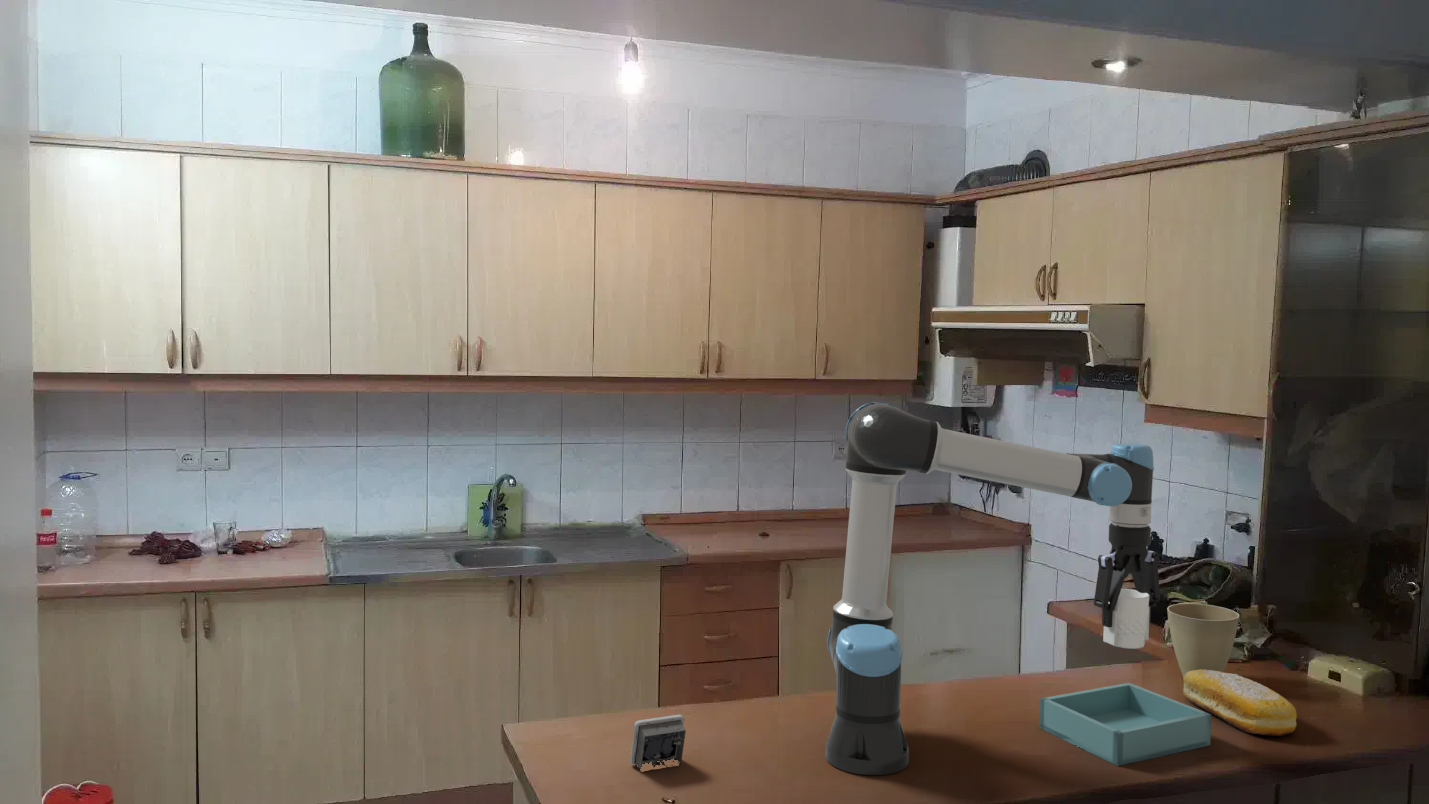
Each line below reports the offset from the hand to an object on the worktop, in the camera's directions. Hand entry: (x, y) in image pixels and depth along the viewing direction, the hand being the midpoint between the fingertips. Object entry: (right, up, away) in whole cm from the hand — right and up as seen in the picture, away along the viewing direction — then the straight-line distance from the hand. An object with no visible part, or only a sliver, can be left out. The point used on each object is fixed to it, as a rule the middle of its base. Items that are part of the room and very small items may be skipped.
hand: (1125, 640), depth 199 cm
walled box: (0, -19, +1) cm, 19 cm away
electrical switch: (-90, -19, -15) cm, 93 cm away
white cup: (0, -1, 0) cm, 1 cm away
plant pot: (+31, -18, +36) cm, 50 cm away
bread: (+28, -19, +13) cm, 36 cm away
